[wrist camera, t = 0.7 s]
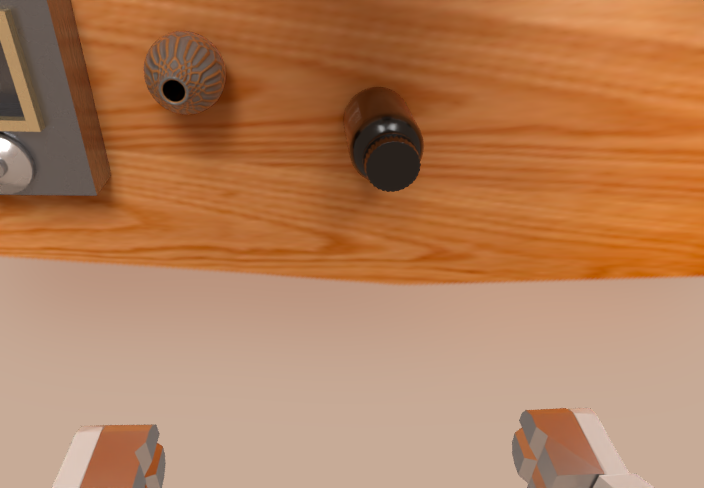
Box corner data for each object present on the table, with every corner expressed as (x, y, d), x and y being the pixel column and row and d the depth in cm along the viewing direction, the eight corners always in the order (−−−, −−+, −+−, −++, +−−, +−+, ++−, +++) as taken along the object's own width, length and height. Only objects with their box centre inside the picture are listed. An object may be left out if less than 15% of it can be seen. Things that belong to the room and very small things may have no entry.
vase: (243, 78, 50) (233, 109, 43) (184, 110, 52) (164, 145, 44) (202, 10, 47) (183, 31, 39) (140, 46, 48) (110, 72, 41)
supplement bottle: (366, 159, 56) (378, 216, 46) (330, 109, 53) (335, 158, 43) (420, 125, 54) (446, 176, 44) (387, 71, 51) (406, 113, 41)
